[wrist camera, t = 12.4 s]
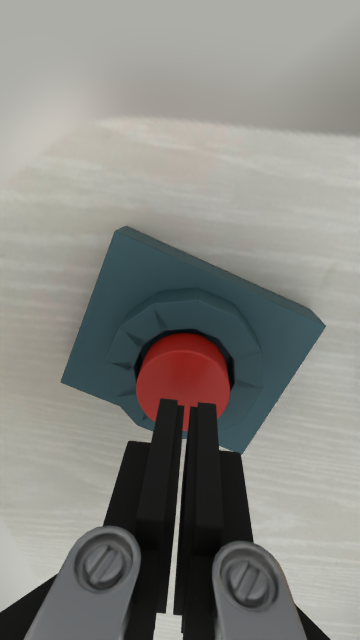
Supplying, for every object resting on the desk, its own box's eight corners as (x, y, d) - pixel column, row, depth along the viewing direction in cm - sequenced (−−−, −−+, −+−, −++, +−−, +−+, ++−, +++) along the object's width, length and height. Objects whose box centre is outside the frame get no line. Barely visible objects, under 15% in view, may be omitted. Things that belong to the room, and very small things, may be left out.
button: (130, 387, 15) (122, 411, 13) (162, 318, 14) (157, 335, 12) (204, 417, 15) (205, 444, 14) (241, 352, 14) (246, 373, 13)
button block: (75, 361, 19) (44, 404, 15) (125, 225, 16) (103, 235, 12) (237, 427, 20) (246, 482, 16) (311, 309, 17) (342, 343, 13)
